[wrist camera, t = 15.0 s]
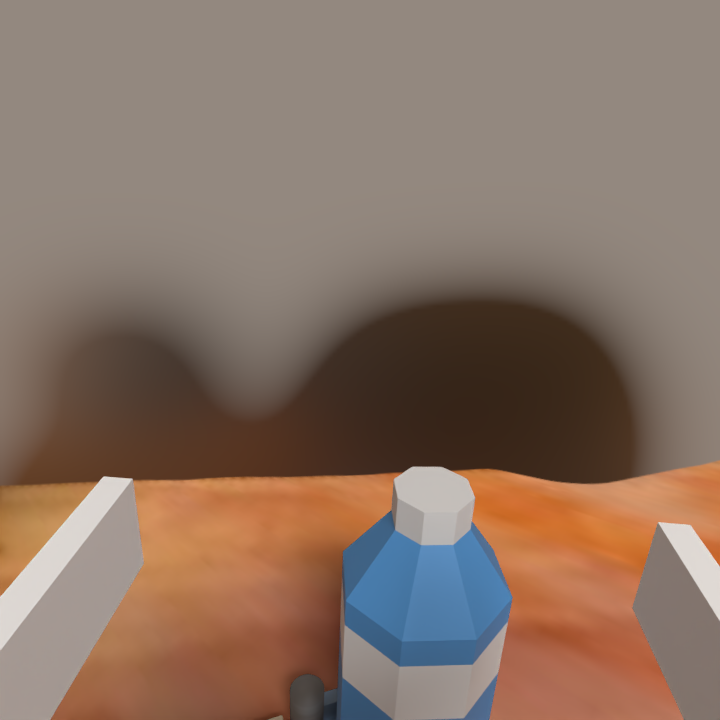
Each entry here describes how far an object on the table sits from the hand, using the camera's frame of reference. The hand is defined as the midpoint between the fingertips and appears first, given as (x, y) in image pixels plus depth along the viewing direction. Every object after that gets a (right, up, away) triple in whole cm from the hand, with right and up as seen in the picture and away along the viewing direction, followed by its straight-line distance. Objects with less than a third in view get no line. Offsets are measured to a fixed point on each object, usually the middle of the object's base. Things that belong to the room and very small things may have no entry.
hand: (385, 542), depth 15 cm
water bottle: (+2, -25, +24) cm, 35 cm away
